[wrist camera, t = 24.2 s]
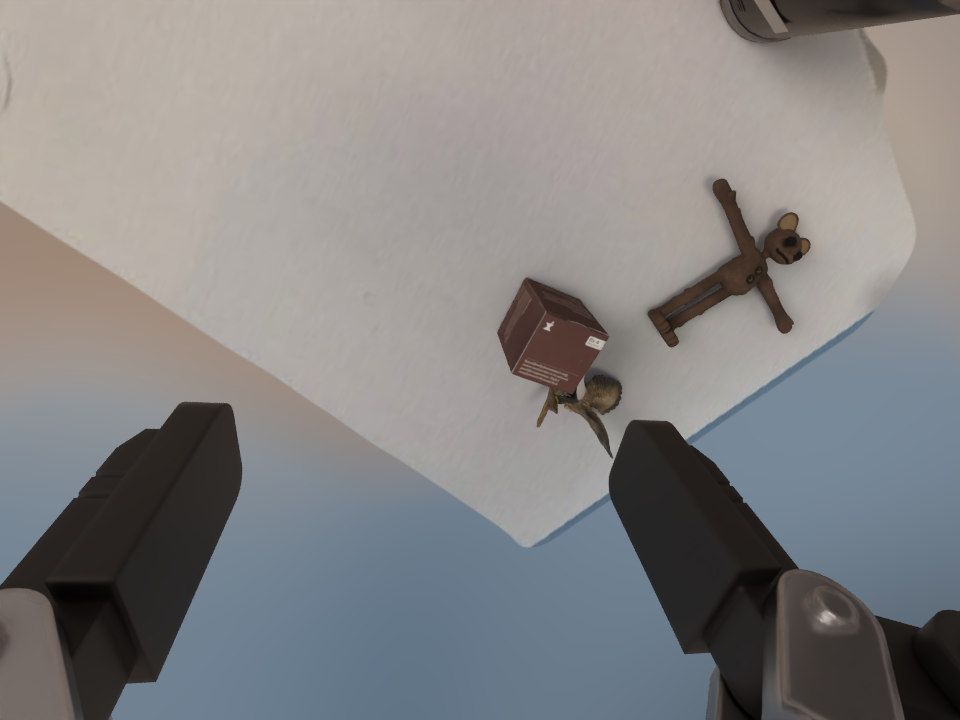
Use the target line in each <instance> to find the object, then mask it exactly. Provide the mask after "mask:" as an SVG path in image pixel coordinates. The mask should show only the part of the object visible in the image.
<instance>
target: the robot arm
mask: <svg viewBox="0 0 960 720" xmlns="http://www.w3.org/2000/svg"><path fill="white" fill-rule="evenodd" d="M720 3H721V7H722V10H723V13H724V15H725V17H726V19H727V20H728V22H729V24H730V25H731V26H732V28H733V29H734V30H735V31H736V32H737V33H739V34H740V35H741V36H743V37H745V38H747V39H749V40H752V41H756V42H764V43H765V42H775V41H782V40H786V39H789V38H792V37H798V36H805V35H815V34H822V33H829V32H836V31H843V30H850V29H857V28H864V27H871V26H878V25H885V24H892V23H899V22H906V21H913V20H920V19H927V18H934V17H941V16H948V15H954V14H960V0H720ZM241 480H242V462H241V457H240V450H239V444H238V438H237V432H236V425H235V419H234V413H233V410H232V407H231V406H230V405H229V404H227V403H203V402H182V403H181V404H179V405H178V406H177V407H176V409H175V410H174V411H173V413H172V414H171V415H170V417H169V418H168V419H167V420H166V422H165V423H164V424H163V426H162V427H161V428H160V429H145V430H143V431H142V432H140V433H139V434H137V435H136V436H134V437H133V438H131V439H130V440H128V441H126V442H125V443H123V444H122V445H120V446H119V447H117V448H116V449H115V450H114V452H113V453H112V454H111V455H110V456H109V457H108V458H107V460H106V461H105V462H104V463H103V465H102V466H101V467H100V468H99V469H98V470H97V472H96V476H95V477H92V478H91V479H90V480H89V481H88V482H87V483H86V485H85V486H84V487H83V488H82V489H81V491H80V492H79V496H78V498H74V499H73V500H72V501H71V502H70V504H69V505H68V506H67V507H66V508H65V510H64V511H63V512H62V513H61V514H60V515H59V517H58V518H57V519H56V520H55V521H54V523H53V524H52V525H51V526H50V527H49V529H48V530H47V531H46V532H45V533H44V534H43V536H42V537H41V538H40V539H39V540H38V542H37V543H36V544H35V545H34V546H33V548H32V549H31V550H30V551H29V552H28V553H27V555H26V556H25V557H24V558H23V560H22V561H21V562H20V563H19V564H18V565H17V567H16V568H15V569H14V570H13V571H12V572H11V574H10V575H9V576H8V577H7V578H6V580H5V581H4V582H3V583H2V584H1V585H0V720H113V718H112V716H111V713H112V711H113V709H114V707H115V705H116V703H117V701H118V699H119V697H120V695H121V693H122V690H123V689H124V687H125V685H126V684H127V683H143V682H144V683H145V682H156V680H157V679H158V676H159V674H160V672H161V669H162V667H163V665H164V662H165V660H166V658H167V655H168V654H169V651H170V649H171V647H172V645H173V642H174V640H175V638H176V635H177V633H178V631H179V629H180V626H181V624H182V622H183V619H184V617H185V615H186V613H187V610H188V608H189V606H190V604H191V602H192V599H193V597H194V595H195V592H196V590H197V588H198V586H199V583H200V581H201V579H202V577H203V574H204V572H205V570H206V568H207V565H208V563H209V560H210V558H211V556H212V554H213V552H214V549H215V547H216V545H217V543H218V540H219V538H220V536H221V533H222V531H223V529H224V527H225V524H226V522H227V520H228V518H229V515H230V513H231V511H232V509H233V506H234V504H235V502H236V500H237V497H238V494H239V490H240V486H241ZM729 483H730V482H729V481H728V479H727V478H726V477H725V476H724V474H723V473H722V472H721V471H720V469H719V468H718V467H717V466H716V464H715V463H714V462H713V461H711V460H710V459H709V458H707V457H706V456H705V455H704V454H702V453H701V452H700V451H699V450H697V449H696V448H694V447H693V446H692V445H688V444H687V442H686V441H685V440H684V438H683V437H682V436H681V435H680V433H679V432H678V431H677V429H676V428H675V427H674V426H673V424H671V423H670V422H668V421H650V420H633V421H631V422H630V423H629V424H628V426H627V428H626V431H625V433H624V436H623V439H622V441H621V444H620V447H619V450H618V452H617V455H616V458H615V460H614V463H613V466H612V468H611V471H610V475H609V492H610V497H611V500H612V502H613V505H614V507H615V509H616V511H617V513H618V515H619V517H620V519H621V521H622V524H623V526H624V528H625V530H626V532H627V534H628V536H629V538H630V540H631V542H632V545H633V546H634V549H635V551H636V553H637V555H638V557H639V559H640V561H641V563H642V566H643V568H644V570H645V572H646V574H647V576H648V578H649V580H650V582H651V585H652V587H653V589H654V591H655V593H656V595H657V597H658V599H659V601H660V604H661V605H662V608H663V610H664V612H665V614H666V616H667V618H668V620H669V622H670V625H671V627H672V628H673V631H674V633H675V635H676V637H677V639H678V641H679V643H680V646H681V648H682V650H683V652H684V654H695V653H711V655H712V657H713V659H714V661H715V663H716V666H715V668H714V669H713V671H712V673H711V677H710V684H709V693H708V702H707V710H706V720H960V611H955V610H942V611H940V612H938V613H937V614H936V615H935V616H934V617H932V618H931V619H930V620H929V621H928V622H927V623H926V624H925V625H924V626H923V627H922V628H919V627H915V626H911V625H908V624H904V623H901V622H897V621H893V620H890V619H886V618H882V617H879V616H875V615H873V613H872V612H871V611H870V610H869V609H868V608H867V606H866V605H865V604H864V603H863V602H862V601H861V600H860V599H858V598H857V597H856V596H855V595H854V594H853V593H851V592H850V591H849V590H847V589H846V588H845V587H843V586H842V585H840V584H838V583H837V582H835V581H833V580H832V579H830V578H827V577H825V576H823V575H821V574H818V573H815V572H812V571H808V570H802V569H799V568H798V567H797V566H796V564H795V563H794V562H793V561H792V559H791V558H790V557H789V556H788V554H787V553H786V552H785V551H784V549H783V548H782V547H781V546H780V544H779V543H778V542H777V541H776V539H775V538H774V537H773V536H772V535H771V533H770V532H769V531H768V529H767V528H766V527H765V526H764V524H763V523H762V522H761V521H760V519H759V518H758V517H757V516H756V514H755V513H754V512H753V511H752V509H751V508H750V507H749V506H748V505H747V503H743V498H742V497H741V496H740V494H739V493H738V492H737V491H736V490H735V488H734V487H733V486H730V484H729Z"/></svg>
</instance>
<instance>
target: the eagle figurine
mask: <svg viewBox="0 0 960 720" xmlns="http://www.w3.org/2000/svg"><path fill="white" fill-rule="evenodd" d="M621 390H622V386H621V384H620V383H619V382H618V381H617V382H616V381H614V380H610V379H608V378H607V379H606V377H604V376H603V375H601V376H600V375H598V376H596V375H595V376H594V377H592V379H591V380H590V381H589V382H588V384H584V377H583V378H582V380H581V381H580V383H579V384H578V386H577V388H576V389H575V391H574V392H573V394H570V393H568V394H569V395H570V396H571V397H569V396H565V395H564V396H560V395H563V394H564V393H565V392H564V391H561V390H558V389H555V388H552V387H550V389H549V393H548V397H547V400H546V402H545V404H544V406H543V409H542V411H541V414H540V416H539V418H538V421H537V427H540V425H541V423H542V422H543V420H544V418H545V416H546V414H547V411H548V410H551V411H553V412H555V413H556V414H557V413H558V405H557V404H567V405H566V406H564V408H566V409H568V410H569V411H570V412H575V413H578V414H580V415H581V416H582V417H584V418H585V419H586V420H587V422H588V423H589V425H590V426H591V428H592V429H593V431H594V432H595V433H596V435H597V437H598V439H599V441H600V443H601V444H602V445H603V446H604V448H605V449H606V451H607V452H608V454H609V455H610V457H611V458H612V459H613V456H612V453H611V451H610V446H609V439H608V435H607V432H606V429H605V427H604V425H603V423H602V421H601V420H600V418H599V417H598V416H597V414H596V413H595V412H594V411H593V410H592V409H591V407H594V408H595V409H597V410H598V411H599V412H600V414H602V415H604V414H605V413H608V412H610V410H613V409H615V406H618V405H619V401H620V400H621V396H620V394H622V391H621ZM566 393H567V392H566Z"/></svg>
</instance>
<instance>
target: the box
mask: <svg viewBox="0 0 960 720" xmlns="http://www.w3.org/2000/svg"><path fill="white" fill-rule="evenodd" d="M497 334H498V336H499V339H500V342H501V345H502V348H503V350H504V353H505V356H506V359H507V362H508V365H509V367H510V370H511V373H512V374H514V375H517V376H520V377H522V378H525V379H528V380H531V381H534V382H537V383H540V384H543V385H546V386H549V387H552V388H555V389H558V390H561V391H564V392H567V393H570V394H573V392H574V391H575V389H576V388H577V386H578V384H579V383H580V381H581V380H582V378H583V377H584V375H585V374H586V372H587V370H588V369H589V367H590V366H591V364H592V363H593V361H594V360H595V358H596V357H597V355H598V354H599V352H600V351H601V349H602V348H603V346H604V344H605V343H606V341H607V339H608V338H609V335H608V334H607V333H606V332H605V330H604V329H603V328H602V326H601V325H600V324H599V323H598V322H597V320H596V319H595V318H594V317H593V315H592V314H591V313H590V312H589V311H588V310H587V308H586V307H585V306H584V305H583V303H582V302H581V301H580V300H579V299H576V298H574V297H571V296H569V295H567V294H564V293H562V292H560V291H557V290H555V289H552V288H550V287H548V286H545V285H543V284H540V283H538V282H535V281H533V280H530V279H528V278H526V279H525V280H524V282H523V284H522V286H521V288H520V290H519V292H518V294H517V296H516V298H515V300H514V301H513V303H512V305H511V307H510V309H509V311H508V313H507V315H506V317H505V319H504V321H503V323H502V325H501V327H500V329H499V331H498V333H497Z"/></svg>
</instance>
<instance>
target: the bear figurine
mask: <svg viewBox="0 0 960 720" xmlns="http://www.w3.org/2000/svg"><path fill="white" fill-rule="evenodd" d="M713 192H714V194H715V196H716V197H717V199H718V200H719V202H720V203H721V205H722V207H723V208H724V210H725V213H726V215H727V217H728V220H729V223H730V225H731V228H732V230H733V233H734V236H735V238H736V241H737V244H738V246H739V249H740V251H741V253H742V254H741V255H739V256H737V257H735V258H733V259H732V260H731V261H729V262H728V263H726V264H724V265H723V266H721V267H720V268H719V269H718V271H717V272H715V273H714V274H712V275H710V276H709V277H707V278H705V279H704V280H702V281H701V282H699V283H697V284H696V285H694V286H693V287H691V288H687V289H685V290H684V292H683V293H681V294H680V295H678V296H675V297H673V298H672V299H671V300H670V301H668V302H667V303H665V304H664V305H662V306H660V307H658V308H656V309H653V310H651V311H649V312H648V316H649V318H650V319H651V321H652V322H653V324H654V325H655V327H656V328H657V330H658V331H659V333H660V334H661V336H662V338H663V339H664V341H665V342H666V343H667V345H668V346H669V347H674V346H676V345H677V344H678V343H679V340H678V337H677V336H676V335H675V333H674V330H675V329H676V328H677V327H681V326H682V325H684V324H685V323H686V322H687V321H689V320H691V319H692V318H694V317H696V316H698V315H701V314H703V313H704V312H705V311H706V310H707V309H709V308H711V307H712V306H714V305H716V304H717V303H719V302H721V301H722V300H724V299H726V298H727V297H729V296H731V295H743V294H746V293H747V292H748V291H750V290H751V289H752V288H753V286H754V285H755V284H756V285H757V288H758V289H759V291H760V292H761V294H762V295H763V297H764V299H765V301H766V302H767V304H768V306H769V307H770V309H771V311H772V313H773V316H774V318H775V322H776V325H777V328H778V330H779V331H780V332H781V333H783V334H785V333H788V332H789V331H790V330H791V329H792V325H793V324H794V322H793V321H792V319H791V318H790V317H789V316H788V315H787V313H786V312H785V310H784V309H783V307H782V305H781V302H780V300H779V298H778V296H777V294H776V292H775V289H774V287H773V282H772V280H771V278H770V277H769V276H768V274H767V271H768V267H767V263H766V258H768V257H769V258H772V259H773V260H774V261H775V262H777V263H779V264H792V263H793V262H795V261H797V260H800V259H801V258H802V256H803V255H805V254H806V253H807V252H808V251H809V249H810V241H809V240H808V239H806V238H800V237H799V235H798V234H797V233H795V230H796V227H797V225H798V221H799V218H798V215H797V214H795V213H793V212H790V213H787V214H785V215H784V216H782V217H781V218H780V220H779V221H778V223H777V227H778V229H775V230H774V231H772V232H771V233H769V234H768V235H767V236H766V238H765V242H764V250H763V252H762V253H761V252H760V251H759V250H758V249H757V248H756V247H755V240H754V238H753V236H751V235H750V233H749V231H748V229H747V227H746V225H745V222H744V220H743V218H742V214H741V210H740V208H738V206H737V203H736V191H732V190H731V188H730V186H729V184H728V182H727V180H725V179H719V180H717V181H715V182H714V184H713ZM719 283H720V285H721V287H722V288H721V289H719V290H717V291H716V292H714V293H712V294H711V295H709V296H707V297H706V298H704V299H702V300H701V301H699V302H697V303H696V304H694V305H692V306H691V307H689V308H687V309H686V310H684V311H682V312H681V313H679V314H677V315H676V316H674V317H672V318H671V319H669V320H666V319H665V318H666V316H667V315H668V314H670V313H672V312H673V311H675V310H676V309H678V308H680V307H681V306H683V305H687V304H688V303H689V302H690V301H692V300H693V299H694V298H696V297H698V296H699V295H701V294H702V293H704V292H706V291H707V290H709V289H711V288H712V287H714V286H716V285H717V284H719Z"/></svg>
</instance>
